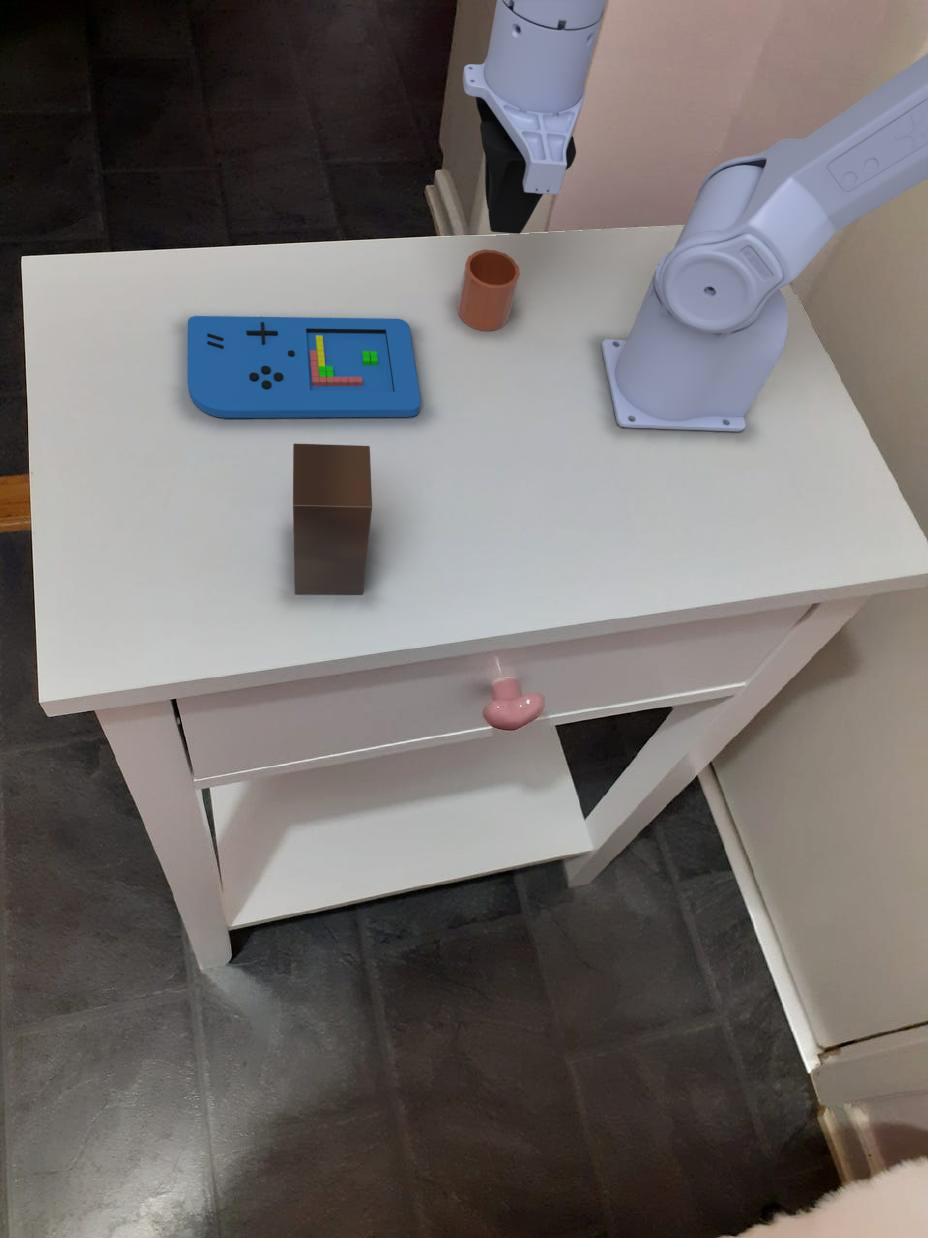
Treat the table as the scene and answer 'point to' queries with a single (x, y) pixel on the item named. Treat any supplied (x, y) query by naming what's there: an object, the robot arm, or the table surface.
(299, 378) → the handheld gaming device
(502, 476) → the table surface
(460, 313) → the pen cup
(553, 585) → the table surface
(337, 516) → the tall brown box
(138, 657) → the table surface
